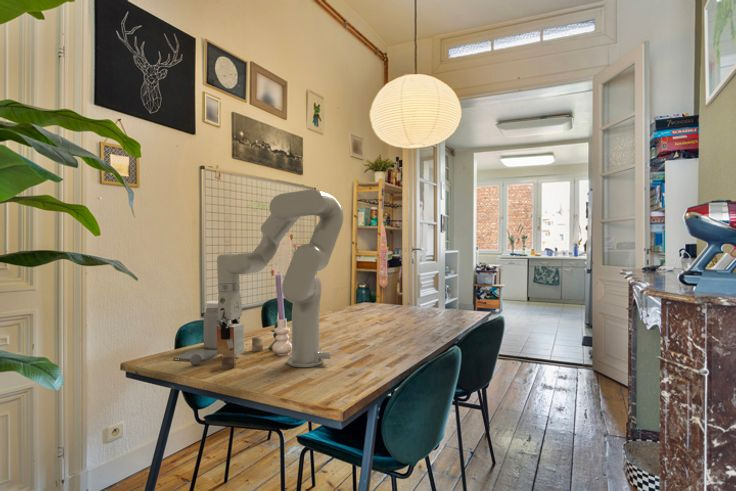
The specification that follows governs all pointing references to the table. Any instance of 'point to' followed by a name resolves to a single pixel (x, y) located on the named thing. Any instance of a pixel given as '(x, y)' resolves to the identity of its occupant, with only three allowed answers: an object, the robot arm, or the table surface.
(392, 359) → the table surface
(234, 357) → the walnut block
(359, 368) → the table surface
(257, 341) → the cork cylinder
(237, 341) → the small box
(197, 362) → the grey rubber ball
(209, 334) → the jar
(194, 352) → the slate trivet
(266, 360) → the table surface
